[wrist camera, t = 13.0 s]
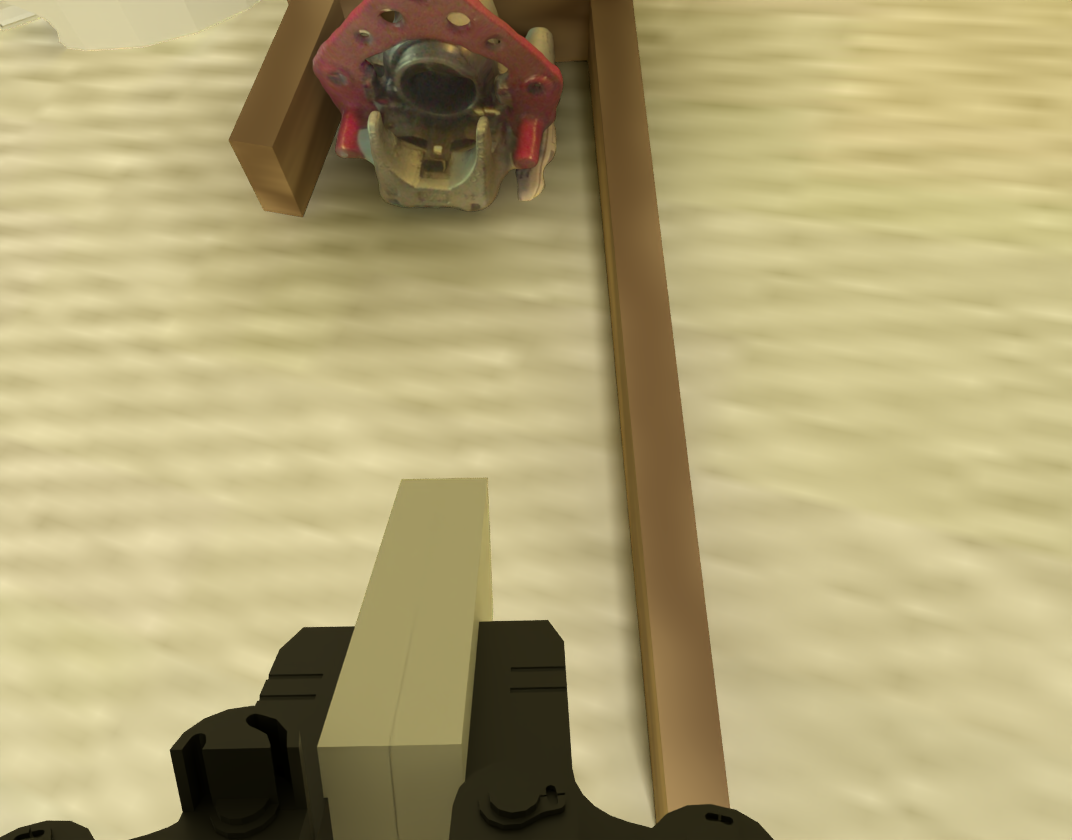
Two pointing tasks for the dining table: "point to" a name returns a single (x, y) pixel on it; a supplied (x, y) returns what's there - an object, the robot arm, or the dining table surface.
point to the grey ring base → (121, 19)
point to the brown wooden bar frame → (637, 327)
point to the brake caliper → (442, 100)
